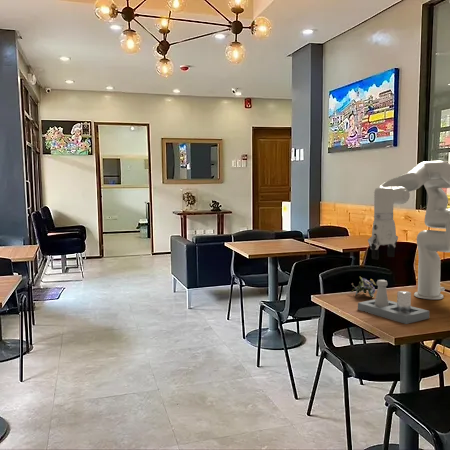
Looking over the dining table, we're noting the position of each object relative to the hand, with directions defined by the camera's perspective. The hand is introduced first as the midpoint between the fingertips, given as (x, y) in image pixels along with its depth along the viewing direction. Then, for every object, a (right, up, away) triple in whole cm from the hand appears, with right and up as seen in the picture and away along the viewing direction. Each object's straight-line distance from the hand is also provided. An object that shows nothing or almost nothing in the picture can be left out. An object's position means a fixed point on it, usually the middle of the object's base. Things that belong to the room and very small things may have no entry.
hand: (383, 257), depth 185 cm
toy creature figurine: (0, -21, +25) cm, 33 cm away
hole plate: (+2, -23, -4) cm, 23 cm away
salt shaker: (0, -23, +1) cm, 23 cm away
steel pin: (+5, -23, -8) cm, 25 cm away
